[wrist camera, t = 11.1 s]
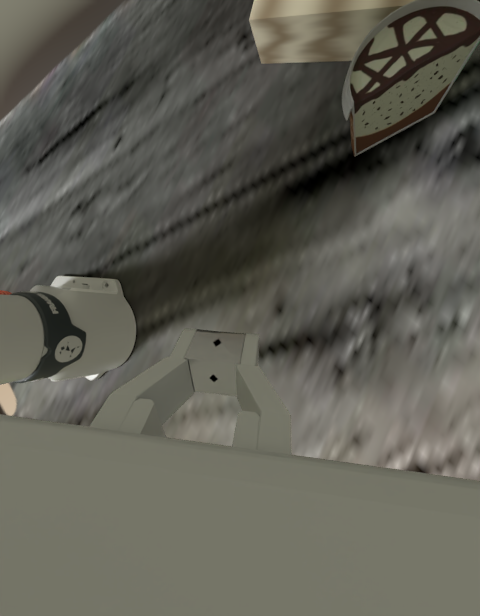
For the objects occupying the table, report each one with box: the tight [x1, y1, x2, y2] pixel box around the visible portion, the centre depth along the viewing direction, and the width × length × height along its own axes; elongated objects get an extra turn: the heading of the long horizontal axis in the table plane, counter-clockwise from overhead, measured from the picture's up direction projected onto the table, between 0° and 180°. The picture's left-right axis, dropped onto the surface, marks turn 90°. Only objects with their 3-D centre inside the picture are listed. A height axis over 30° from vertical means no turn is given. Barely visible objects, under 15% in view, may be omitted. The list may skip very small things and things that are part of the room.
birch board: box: [249, 0, 415, 64], centre depth 31 cm, size 20×3×6 cm, turn 74°
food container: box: [342, 0, 480, 157], centre depth 28 cm, size 12×6×10 cm, turn 112°
